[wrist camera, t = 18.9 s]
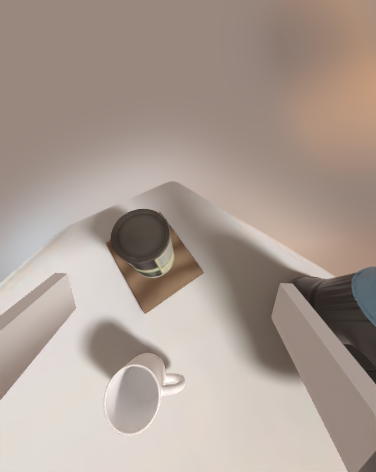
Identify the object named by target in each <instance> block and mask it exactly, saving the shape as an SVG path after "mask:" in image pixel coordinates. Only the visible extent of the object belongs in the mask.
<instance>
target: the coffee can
mask: <svg viewBox="0 0 376 472" xmlns="http://www.w3.org/2000/svg"><path fill="white" fill-rule="evenodd" d="M111 243H112V247H113V249H114V251H115V252H116V254H117V255H118V256H119V257H120V258H122V259H123V260H125V261H126V262H127V263H128V264H130V265H131V266H132V267H133V268H134V269H135V270H136V271H137V272H138V273H139V274H141V275H142V276H144V277H147V278H156V277H160V276H162V275H164V274H165V273H167V272H168V271H169V270H170V268H171V267H172V265H173V262H174V251H173V247H172V242H171V236H170V227H169V224H168V222H167V220H166V219H165V218H164V217H163V216H162V215H161V214H159V213H158V212H156V211H153V210H149V209H137V210H133V211H131V212H129V213H127V214H125V215H124V216H122V217H121V218H120V219H119V220H118V221H117V222H116V224H115V226H114V228H113V230H112V234H111Z"/></svg>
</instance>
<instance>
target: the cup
mask: <svg viewBox="0 0 376 472" xmlns="http://www.w3.org/2000/svg"><path fill="white" fill-rule="evenodd" d="M166 382H178V383H177V384H172V385H165V384H166ZM184 386H185V378H184V377H183V376H182V375H180V374H166V369H165V366H164V363H163V362H162V360H161V359H160V358H159V357H158V356H157V355H155V354H152V353H142V354H140V355H138V356H136V357H135V358H133V359H132V360H131V361H130V362H128V363H127V364H126V365H125V366H123V367H122V368H121V369H120V370H119V371H117V372H116V373H115V375H114V376H113V377H112V378H111V380H110V382H109V384H108V386H107V388H106V391H105V395H104V413H105V417H106V419H107V421H108V423H109V425H110V426H111V428H112V429H113V430H115V431H116V432H117V433H119V434H122V435H127V436H129V435H135V434H138V433H140V432H142V431H143V430H145V429H146V428H147V427H148V426H149V425H150V424H151V422H152V421H153V419H154V418H155V416H156V414H157V411H158V408H159V405H160V402H161V398H162V396H163V395H172V394H176V393H178V392H180V391H181V390H182V389H183V388H184Z"/></svg>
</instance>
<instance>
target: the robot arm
mask: <svg viewBox="0 0 376 472" xmlns="http://www.w3.org/2000/svg"><path fill="white" fill-rule="evenodd" d="M75 309H76V306H75V302H74V298H73V295H72V291H71V287H70V283H69V279H68V275H67V274H64V273H55V274H53V275H52V276H51V277H49V278H48V279H47V280H46V281H44V282H43V283H42V284H40V285H39V286H38V287H37V288H35V289H34V290H33V291H31V292H30V293H29V294H28V295H26V296H25V297H24V298H23V299H21V300H20V301H19V302H17V303H16V304H15V305H14V306H12V307H11V308H10V309H8V310H7V311H6V312H5V313H3V314H2V315H1V316H0V400H1V399H2V398H3V396H4V395H5V394H6V393H7V391H8V390H9V389H10V388H11V387H12V385H13V384H14V383H15V382H16V381H17V379H18V378H19V377H20V376H21V374H22V373H23V372H24V371H25V370H26V368H27V367H28V366H29V365H30V364H31V362H32V361H33V360H34V359H35V357H36V356H37V355H38V354H39V353H40V351H41V350H42V349H43V348H44V347H45V345H46V344H47V343H48V342H49V340H50V339H51V338H52V337H53V336H54V334H55V333H56V332H57V331H58V330H59V328H60V327H61V326H62V325H63V323H64V322H65V321H66V320H67V319H68V317H69V316H70V315H71V314H72V313H73V311H74V310H75ZM271 319H272V321H273V323H274V325H275V327H276V329H277V331H278V333H279V335H280V337H281V339H282V341H283V343H284V345H285V347H286V349H287V351H288V353H289V355H290V357H291V359H292V361H293V363H294V365H295V367H296V369H297V371H298V373H299V375H300V377H301V379H302V381H303V383H304V385H305V387H306V389H307V391H308V393H309V395H310V397H311V399H312V401H313V403H314V405H315V407H316V409H317V411H318V413H319V415H320V417H321V419H322V421H323V423H324V425H325V427H326V429H327V431H328V433H329V435H330V437H331V439H332V441H333V443H334V445H335V447H336V449H337V451H338V453H339V455H340V457H341V459H342V461H343V463H344V465H345V467H346V469H347V471H348V472H376V267H369V268H365V269H362V270H360V271H359V272H357V273H353V274H349V275H344V276H340V277H335V278H331V279H321V278H317V277H302V278H298V279H295V280H293V281H291V282H289V283H280V285H279V289H278V293H277V296H276V300H275V304H274V308H273V312H272V316H271Z"/></svg>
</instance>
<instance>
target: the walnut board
mask: <svg viewBox="0 0 376 472" xmlns="http://www.w3.org/2000/svg"><path fill="white" fill-rule="evenodd" d="M159 214H161V213H159ZM161 215H162V214H161ZM162 216H163V215H162ZM169 227H170V236H171V242H172V247H173V251H174V262H173V265H172V267H171V268H170V270H169V271H168V272H167V273H165V274H164V275H162V276H160V277H156V278H147V277H144V276H142V275H141V274H139V273H138V272H137V271H136V270H135V269H134V268H133V267H132V266H131V265H130V264H128V263H127V262H126V261H125V260H123V259H122V258H120V257H119V256H118V255H117V254H116V252H115V251H114V249H113V247H112V243H111V240H110V241H109V242H107V243H106V244H107V246H108V247H109V249H110V251H111V253H112V255H113V257H114V258H115V260H116V262H117V264H118V266H119V267H120V269H121V271H122V273H123V275H124V277H125V278H126V280H127V282H128V284H129V286H130V288H131V289H132V291H133V293H134V295H135V297H136V299H137V300H138V302H139V304H140V306H141V308H142V309H143V311H144V313H145V314H146V313H147V312H149V311H150V310H152V309H153V308H154V307H156V306H157V305H159V304H160V303H162V302H163V301H164V300H166V299H167V298H169V297H170V296H172V295H173V294H174V293H176V292H177V291H179V290H180V289H181V288H183V287H184V286H186V285H187V284H189V283H190V282H191V281H193V280H194V279H196V278H197V277H198V276H200V275H201V274H203V273H204V272H203V270H202V269H201V268H200V266H199V265H198V263H197V262H196V261H195V259H194V258H193V257H192V255H191V254H190V252H189V251H188V250H187V248H186V247H185V246H184V244H183V243H182V241H181V240H180V239H179V237H178V236H177V235H176V233H175V232H174V230H173V229H172V228H171V226H170V225H169Z"/></svg>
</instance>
